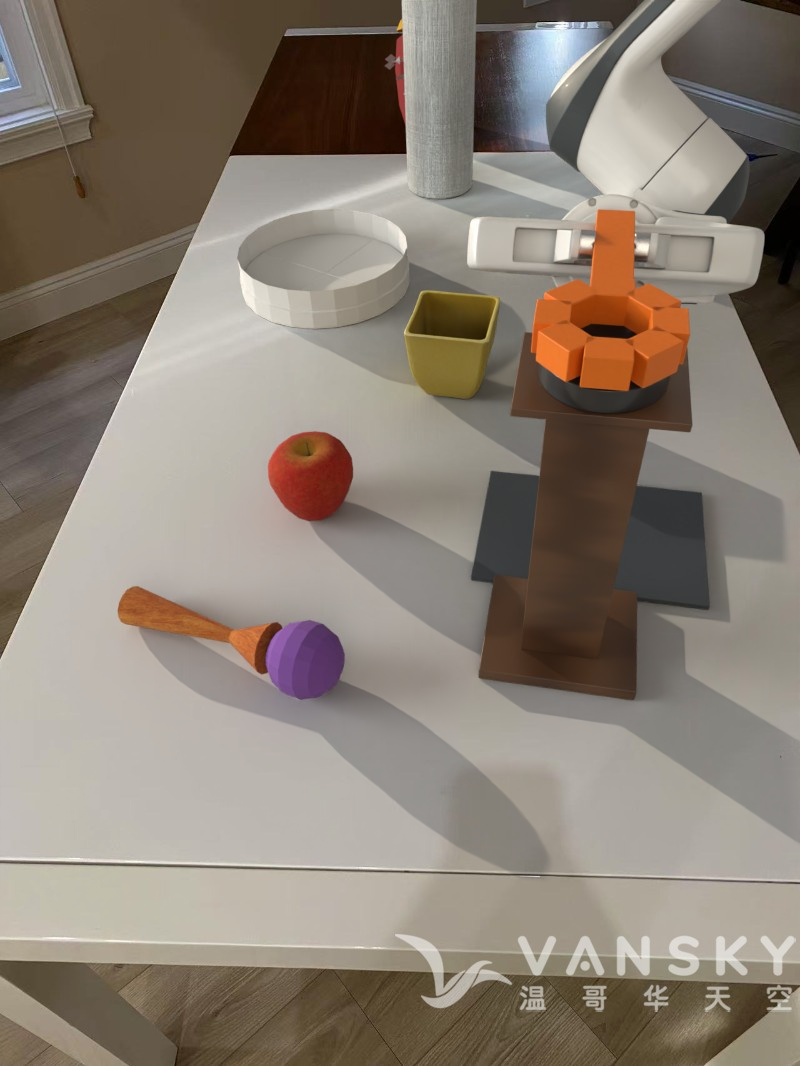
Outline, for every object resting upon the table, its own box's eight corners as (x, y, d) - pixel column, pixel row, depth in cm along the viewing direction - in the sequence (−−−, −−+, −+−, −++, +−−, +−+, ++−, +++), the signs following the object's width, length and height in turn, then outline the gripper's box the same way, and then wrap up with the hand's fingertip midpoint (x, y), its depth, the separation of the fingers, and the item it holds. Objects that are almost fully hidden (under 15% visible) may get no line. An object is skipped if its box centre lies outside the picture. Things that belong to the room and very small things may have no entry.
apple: (259, 510, 80) (245, 448, 74) (316, 467, 84) (307, 405, 78) (316, 546, 76) (305, 484, 70) (373, 500, 80) (367, 437, 74)
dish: (442, 267, 110) (442, 231, 107) (343, 347, 98) (339, 310, 95) (312, 229, 120) (308, 195, 116) (207, 298, 107) (198, 263, 104)
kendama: (147, 557, 70) (355, 616, 63) (160, 611, 74) (359, 673, 66) (98, 598, 66) (316, 666, 59) (115, 653, 69) (323, 724, 62)
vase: (485, 183, 128) (492, -22, 109) (442, 206, 123) (442, -4, 104) (437, 167, 133) (436, -32, 114) (394, 188, 128) (385, -16, 109)
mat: (700, 495, 78) (701, 492, 78) (708, 610, 69) (710, 606, 69) (490, 474, 82) (491, 470, 81) (470, 580, 72) (471, 576, 72)
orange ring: (676, 235, 56) (682, 206, 55) (684, 396, 44) (692, 364, 42) (551, 229, 58) (554, 201, 56) (525, 383, 45) (528, 352, 44)
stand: (634, 600, 70) (709, 313, 50) (634, 701, 63) (719, 414, 43) (493, 583, 72) (511, 299, 52) (478, 678, 65) (492, 394, 45)
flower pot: (485, 414, 88) (488, 341, 82) (405, 404, 90) (402, 333, 84) (497, 366, 94) (501, 296, 88) (422, 359, 96) (421, 289, 89)
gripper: (479, 207, 66) (456, 185, 53) (745, 219, 63) (791, 199, 50) (472, 288, 68) (449, 287, 55) (731, 305, 65) (771, 307, 52)
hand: (614, 245), depth 53 cm, fingers closed on orange ring, 2 cm apart
